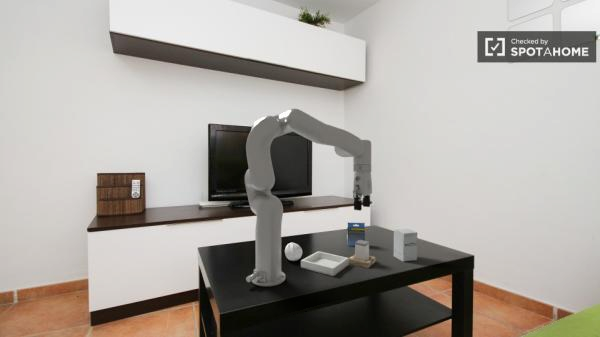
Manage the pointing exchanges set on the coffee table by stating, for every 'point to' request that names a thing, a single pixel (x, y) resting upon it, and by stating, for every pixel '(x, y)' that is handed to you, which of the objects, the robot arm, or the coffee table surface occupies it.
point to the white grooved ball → (293, 251)
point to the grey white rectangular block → (362, 250)
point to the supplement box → (405, 244)
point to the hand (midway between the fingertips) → (362, 208)
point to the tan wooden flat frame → (362, 263)
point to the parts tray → (325, 263)
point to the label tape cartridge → (355, 233)
